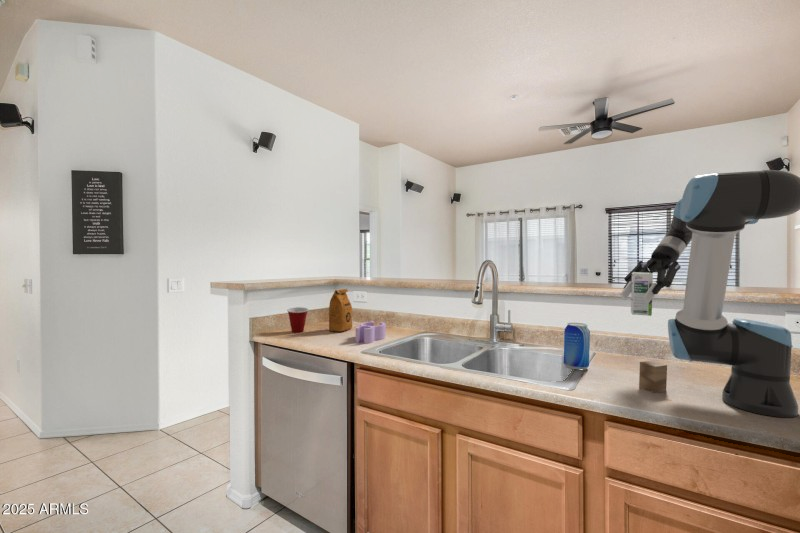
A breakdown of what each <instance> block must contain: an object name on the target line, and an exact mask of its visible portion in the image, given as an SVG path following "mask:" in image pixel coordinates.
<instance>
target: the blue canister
mask: <svg viewBox="0 0 800 533" xmlns="http://www.w3.org/2000/svg"><path fill="white" fill-rule="evenodd" d="M590 338H591V331H590V329H589V327H588V324H586V323H583V322H582V323H580V322H567V324H566V326H565V328H564V339H563V364H564V365H565V368H567V369H570V370H574V369H583V370H582V371H586V370H587V369H588V368H589V367H590V342H591V339H590Z"/></svg>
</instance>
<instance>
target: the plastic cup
mask: <svg viewBox="0 0 800 533" xmlns="http://www.w3.org/2000/svg"><path fill="white" fill-rule="evenodd" d="M286 311H287V314H288V317H289V325H290V328H291V329H290V330H291V333H294V334H295V333H296V334H298V333H304V329H305V325H306V320H307V315H308V311H309V308H307V307H301V306H300V307H299V306H298V307H297V306H296V307H290V308H288V309H286Z"/></svg>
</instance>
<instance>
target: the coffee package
mask: <svg viewBox="0 0 800 533" xmlns="http://www.w3.org/2000/svg"><path fill="white" fill-rule="evenodd" d="M348 292H349V290H348V288H343V289H335V290H334V291H333V294H332V296H331V297H330V300H329V307H328V331H329V332H338V333H339V332H345V331H350V330H351V329H353V306H352V303H351V301H350V299H349V298H348V294H347V293H348Z"/></svg>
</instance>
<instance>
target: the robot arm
mask: <svg viewBox="0 0 800 533" xmlns="http://www.w3.org/2000/svg"><path fill="white" fill-rule="evenodd" d="M799 211H800V177H799V176H798V175H797V174H794V173H791V172H788V171H784V170H779V169H778V170H775V169H763V170H754V171H753V170H750V171H735V172H732V171H731V172H723V173H722V172H712V173H709V174H700V175H696V176H693V177H692V178H691V179H689V181H688V183H687V184H686V186H685V189H684V191H683V193H682V197H681V199H679V200H678V201H677V203H676V205H675V208H674V210H673V214H672V220H671V223H670V225H669V226H670V227H669V229H668V232H667V233H665V235H664V237H663V238H662V239H661V241H660V242H659V243H658V244H657V247H656V248H655V249H654V250H653V252H652V253H651V256H650V257H651V258H650V259H648V260H647V261H644V262H643V260H639V261H638V262H637V265H636V266H635V267H634V268H633V269H632V270H631V271H630V272H629V273H628V274H626V276H625V277H624V281H625V282H626V284H625V285H624V286H623V290H621V292H620V293H619V295H620V296H621V298H622V300H624V301H626V300H627V299H628V297H629V295H630V296H631V285H632V273H633V272H642V273H652V274H653V273H656V280H655V282H653V284H652V285H651V287H650V288H649V290H648V291H647V292H646V294H645V295H644V299H645V300H646V301H647V302H648V303H649V302H650V301H651V300H652V301H653V298H654V297H655V295H658V294H659V292H660V291H661V289H663V288H664V287H665V288H670V287H671V286H672V283H673V281H674V279H675V277H676V274H677V272H678V271H679V270H680V269H681V268H682V267H681V265H680V263H679V262H678V260H679V258H680V256H681V255H682V254H683V252H684V251H685V250H686V248H687V247H688V246H689V244H690V249H689V250H690V251H689V259H688V265H687V266H688V267H687V276H686V284H685V291H684V299H683V307H682V309H681V310H678V311H676V314H675V318H670V319H668V320H667V332H668V340H669V346H670V350H671V354H672V355H673V357H674V358H676V359H678V360H684V361H689V362H700V363H708V364H717V365H726V366H731V369H730V370H731V372H730V376H729V377H728V380H727V381H726V384H725V385H724V387H723V389H722V394H721V397H722V398H721V399H722V401H723V402H724V403H726V404H727V405H729V406H733V407H735V408H737V409H740V410H743V411H746V412H750V413H754V414H758V415H764V416H769V417H770V416H771V417H776V418H777V417H778V418H794V417H797V416H798V415H799V404H798V401H797V399H796V396H795V394H794V391H793V388H792V385H791V362H792V361H791V360H792V348H793V343H792V341H793V340H792V332H790V330H789V329H787V328H786V327H783V326H780V325H777V324H772V323H767V322H762V321H758V320H752V319H745V318H734V319H733V320H732V322H731V323H728V319H727V318H726V317H725V316H724V315H723V310H724V303H725V298H726V291H727V285H728V280H729V273H730V268H731V261H732V255H733V248H734V243H735V237H736V234H738V233H741V231H743V230H744V229H745V227H746V225H755V224H757V223H758V222H759V220H768V219H776V218H782V217H786V216H790V215H793V214H795V213H797V212H799ZM667 269H668V270H667Z"/></svg>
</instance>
